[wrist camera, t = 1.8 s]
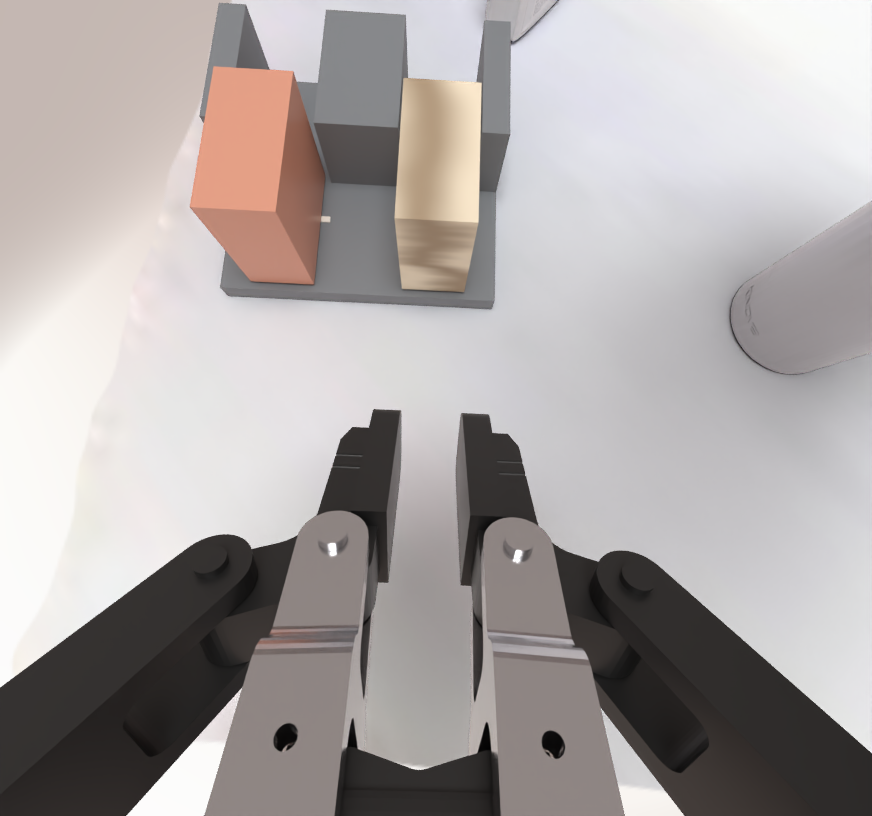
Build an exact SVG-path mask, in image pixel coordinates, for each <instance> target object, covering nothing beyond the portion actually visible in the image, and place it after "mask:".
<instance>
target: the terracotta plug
mask: <svg viewBox="0 0 872 816" xmlns="http://www.w3.org/2000/svg"><path fill="white" fill-rule="evenodd" d="M324 183H325V172H324V169H323V166H322V163H321V159H320V156H319V153H318V150H317V146H316V143H315V140H314V137H313V134H312V130H311V127H310V124H309V121H308V117H307V114H306V111H305V108H304V105H303V101H302V98H301V95H300V92H299V88H298V85H297V82H296V79H295V75H294V72H293V71H282V70H265V69H249V68H233V67H216V66H214V67H213V73H212V79H211V85H210V90H209V96H208V102H207V108H206V114H205V120H204V126H203V132H202V138H201V144H200V150H199V155H198V161H197V167H196V173H195V179H194V185H193V191H192V197H191V203H190V208H191V209H192V210H193V212H194V213H195V214H196V215H197V217H198V218H199V219H200V220H201V221H202V223H203V224H204V225H205V226H206V227H207V229H208V230H209V231H210V232H211V234H212V235H213V236H214V237H215V238H216V240H217V241H218V242H219V243H220V244H221V246H222V247H223V248H224V249H225V251H226V252H227V253H228V254H229V255H230V257H231V258H232V259H233V260H234V261H235V263H236V264H237V265H238V266H239V268H240V269H241V270H242V271H243V272H244V274H245V275H246V276H247V277H248V278H249V280H250V281H254V282H274V283H294V284H314V281H315V271H316V261H317V251H318V241H319V232H320V222H321V212H322V202H323V192H324Z"/></svg>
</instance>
